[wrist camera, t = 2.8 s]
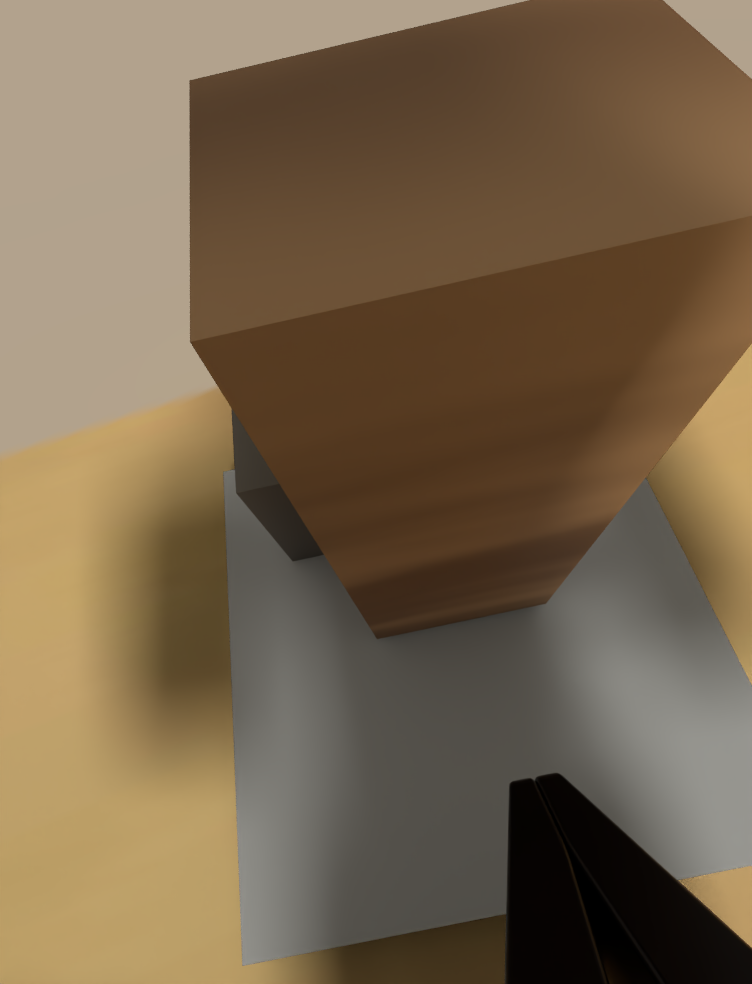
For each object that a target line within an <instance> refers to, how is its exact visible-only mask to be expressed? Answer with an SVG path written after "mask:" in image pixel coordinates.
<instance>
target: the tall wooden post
mask: <svg viewBox="0 0 752 984" xmlns="http://www.w3.org/2000/svg"><path fill="white" fill-rule="evenodd" d="M190 342H191V344H192V346H193V347H194V349H195V350H196V352H197V354H198V355H199V357H200V358H201V360H202V362H203V363H204V365H205V366H206V368H207V370H208V371H209V373H210V374H211V376H212V378H213V379H214V381H215V382H216V384H217V385H218V387H219V389H220V390H221V392H222V393H223V395H224V397H225V398H226V400H227V401H228V403H229V405H230V406H231V408H232V409H233V411H234V412H235V414H236V416H237V417H238V419H239V420H240V422H241V424H242V425H243V427H244V428H245V430H246V432H247V433H248V435H249V436H250V438H251V440H252V441H253V443H254V444H255V446H256V447H257V449H258V451H259V452H260V454H261V455H262V457H263V459H264V460H265V462H266V463H267V465H268V467H269V468H270V470H271V471H272V473H273V474H274V476H275V478H276V479H277V481H278V482H279V484H280V486H281V487H282V489H283V490H284V492H285V494H286V495H287V497H288V498H289V500H290V501H291V503H292V505H293V506H294V508H295V509H296V511H297V513H298V514H299V516H300V517H301V519H302V521H303V522H304V524H305V525H306V527H307V529H308V530H309V532H310V533H311V535H312V536H313V538H314V540H315V541H316V543H317V544H318V546H319V548H320V549H321V551H322V552H323V554H324V556H325V557H326V559H327V560H328V562H329V563H330V565H331V567H332V568H333V570H334V571H335V573H336V575H337V576H338V578H339V579H340V581H341V583H342V584H343V586H344V587H345V589H346V591H347V592H348V594H349V595H350V597H351V598H352V600H353V602H354V603H355V605H356V606H357V608H358V610H359V611H360V613H361V614H362V616H363V618H364V619H365V621H366V622H367V624H368V625H369V627H370V629H371V630H372V632H373V633H374V635H375V637H376V638H377V639H380V638H385V637H390V636H395V635H399V634H404V633H409V632H414V631H419V630H423V629H428V628H433V627H438V626H442V625H447V624H452V623H457V622H461V621H466V620H471V619H476V618H480V617H485V616H490V615H495V614H499V613H504V612H509V611H514V610H518V609H523V608H528V607H533V606H537V605H542V604H546V603H547V602H548V601H549V599H550V598H551V597H552V595H553V594H554V593H555V592H556V590H557V589H558V588H559V587H560V585H561V584H562V583H563V582H564V580H565V579H566V578H567V576H568V575H569V574H570V573H571V571H572V570H573V569H574V568H575V566H576V565H577V564H578V563H579V561H580V560H581V559H582V558H583V556H584V555H585V554H586V552H587V551H588V550H589V549H590V547H591V546H592V545H593V544H594V542H595V541H596V540H597V539H598V537H599V536H600V535H601V533H602V532H603V531H604V530H605V528H606V527H607V526H608V525H609V523H610V522H611V521H612V520H613V518H614V517H615V516H616V514H617V513H618V512H619V511H620V509H621V508H622V507H623V506H624V504H625V503H626V502H627V501H628V499H629V498H630V497H631V496H632V494H633V493H634V492H635V490H636V489H637V488H638V487H639V485H640V484H641V483H642V482H643V480H644V479H645V478H646V477H647V475H648V474H649V473H650V471H651V470H652V469H653V468H654V466H655V465H656V464H657V463H658V461H659V460H660V459H661V458H662V456H663V455H664V454H665V452H666V451H667V450H668V449H669V447H670V446H671V445H672V444H673V442H674V441H675V440H676V439H677V437H678V436H679V435H680V434H681V432H682V431H683V430H684V428H685V427H686V426H687V425H688V423H689V422H690V421H691V420H692V418H693V417H694V416H695V415H696V413H697V412H698V411H699V409H700V408H701V407H702V406H703V404H704V403H705V402H706V401H707V399H708V398H709V397H710V396H711V394H712V393H713V392H714V390H715V389H716V388H717V387H718V385H719V384H720V383H721V382H722V380H723V379H724V378H725V377H726V375H727V374H728V373H729V372H730V370H731V369H732V368H733V366H734V365H735V364H736V363H737V361H738V360H739V359H740V358H741V356H742V355H743V354H744V353H745V351H746V350H747V349H748V347H749V346H750V345H751V344H752V79H751V78H750V77H749V76H747V75H746V74H745V73H744V72H743V71H742V70H741V69H740V68H738V67H737V66H736V65H735V64H734V63H733V62H732V61H731V60H729V59H728V58H727V57H726V56H725V55H724V54H723V53H722V52H720V51H719V50H718V49H717V48H716V47H715V46H713V44H711V43H710V42H709V41H708V40H707V39H706V38H705V37H704V36H702V35H701V34H700V33H699V32H698V31H697V30H696V29H694V28H693V27H692V26H691V25H690V24H689V23H688V22H686V21H685V20H684V19H683V18H682V17H681V16H680V15H679V14H677V13H676V12H675V11H674V10H673V9H672V8H671V7H670V6H669V5H667V4H666V3H665V2H664V1H663V0H529V1H524V2H520V3H516V4H512V5H507V6H504V7H499V8H495V9H490V10H486V11H482V12H478V13H474V14H469V15H465V16H461V17H457V18H452V19H449V20H444V21H440V22H436V23H431V24H427V25H423V26H418V27H414V28H410V29H406V30H402V31H397V32H393V33H389V34H385V35H380V36H376V37H372V38H368V39H364V40H359V41H355V42H351V43H346V44H342V45H338V46H334V47H330V48H325V49H321V50H317V51H313V52H308V53H304V54H300V55H296V56H291V57H287V58H283V59H279V60H275V61H271V62H266V63H262V64H258V65H254V66H249V67H245V68H240V69H236V70H232V71H228V72H224V73H219V74H215V75H211V76H207V77H202V78H198V79H194V80H190Z"/></svg>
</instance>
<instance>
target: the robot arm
mask: <svg viewBox="0 0 752 984" xmlns="http://www.w3.org/2000/svg"><path fill="white" fill-rule="evenodd" d="M505 984H752V948H751V947H750V946H749V945H748V944H747V943H746V942H745V941H744V940H742V939H741V938H740V937H739V936H738V935H737V934H736V933H735V932H734V931H733V930H731V929H730V928H729V927H728V926H727V925H726V924H725V923H724V922H723V921H722V920H721V919H719V918H718V917H717V916H716V915H715V914H714V913H713V912H712V911H711V910H710V909H708V908H707V907H706V906H705V905H704V904H703V903H702V902H701V901H700V900H699V899H698V898H696V897H695V896H694V895H693V894H692V893H691V892H690V891H689V890H688V889H687V888H685V887H684V886H683V885H682V884H681V883H680V882H679V881H678V880H677V879H676V878H674V877H673V876H672V875H671V874H670V873H669V872H668V871H667V870H666V869H665V868H664V867H662V866H661V865H660V864H659V863H658V862H657V861H656V860H655V859H654V858H653V857H651V856H650V855H649V854H648V853H647V852H646V851H645V850H644V849H643V848H642V847H641V846H639V845H638V844H637V843H636V842H635V841H634V840H633V839H632V838H631V837H630V836H628V835H627V834H626V833H625V832H624V831H623V830H622V829H621V828H620V827H619V826H618V825H616V824H615V823H614V822H613V821H612V820H611V819H610V818H609V817H608V816H607V815H605V814H604V813H603V812H602V811H601V810H600V809H599V808H598V807H597V806H596V805H594V804H593V803H592V802H591V801H590V800H589V799H588V798H587V797H586V796H585V795H584V794H582V793H581V792H580V791H579V790H578V789H577V788H576V787H575V786H574V785H573V784H571V783H570V782H569V781H568V780H567V779H566V778H565V777H564V776H563V775H561V774H560V773H550V774H545V775H540V776H537V777H536V778H535V780H534V779H532V778H525V779H520V780H515V781H512V782H510V784H509V807H508V852H507V897H506V942H505Z"/></svg>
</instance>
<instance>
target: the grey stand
mask: <svg viewBox="0 0 752 984" xmlns="http://www.w3.org/2000/svg"><path fill="white" fill-rule="evenodd" d="M232 425H233V445H234V464H235V469H234V470H230V471H225V472H223V476H224V502H225V527H226V553H227V579H228V605H229V630H230V656H231V682H232V708H233V733H234V759H235V785H236V810H237V836H238V862H239V888H240V913H241V939H242V965H243V966H244V965H249V964H255V963H260V962H265V961H270V960H275V959H280V958H285V957H290V956H295V955H300V954H305V953H310V952H315V951H320V950H326V949H331V948H336V947H341V946H346V945H351V944H356V943H361V942H366V941H371V940H376V939H381V938H386V937H391V936H397V935H402V934H407V933H412V932H417V931H422V930H427V929H432V928H437V927H442V926H447V925H452V924H457V923H462V922H468V921H473V920H478V919H483V918H488V917H493V916H498V915H503V914H506V897H507V852H508V807H509V784H510V782H512V781H515V780H520V779H525V778H532V779H534V780H535V778H536V777H537V776H540V775H545V774H550V773H560V774H561V775H563V776H564V777H565V778H566V779H567V780H568V781H569V782H570V783H571V784H573V785H574V786H575V787H576V788H577V789H578V790H579V791H580V792H581V793H582V794H584V795H585V796H586V797H587V798H588V799H589V800H590V801H591V802H592V803H593V804H594V805H596V806H597V807H598V808H599V809H600V810H601V811H602V812H603V813H604V814H605V815H607V816H608V817H609V818H610V819H611V820H612V821H613V822H614V823H615V824H616V825H618V826H619V827H620V828H621V829H622V830H623V831H624V832H625V833H626V834H627V835H628V836H630V837H631V838H632V839H633V840H634V841H635V842H636V843H637V844H638V845H639V846H641V847H642V848H643V849H644V850H645V851H646V852H647V853H648V854H649V855H650V856H651V857H653V858H654V859H655V860H656V861H657V862H658V863H659V864H660V865H661V866H662V867H664V868H665V869H666V870H667V871H668V872H669V873H670V874H671V875H672V876H673V877H674V878H676V879H677V880H681V879H686V878H691V877H696V876H701V875H706V874H711V873H716V872H721V871H726V870H731V869H736V868H741V867H746V866H752V685H751V683H750V681H749V679H748V677H747V675H746V673H745V671H744V669H743V667H742V665H741V663H740V662H739V660H738V658H737V656H736V654H735V652H734V650H733V648H732V646H731V644H730V642H729V640H728V638H727V636H726V634H725V632H724V630H723V628H722V626H721V624H720V622H719V620H718V618H717V616H716V614H715V612H714V610H713V608H712V607H711V605H710V603H709V601H708V599H707V597H706V595H705V593H704V591H703V589H702V587H701V585H700V583H699V581H698V579H697V577H696V575H695V573H694V571H693V569H692V567H691V565H690V563H689V561H688V559H687V557H686V555H685V553H684V551H683V550H682V548H681V546H680V544H679V542H678V540H677V538H676V536H675V534H674V532H673V530H672V528H671V526H670V524H669V522H668V520H667V518H666V516H665V514H664V512H663V510H662V508H661V506H660V504H659V502H658V500H657V498H656V496H655V495H654V493H653V491H652V489H651V487H650V485H649V483H648V481H647V479H646V478H645V479H644V480H643V482H642V483H641V484H640V485H639V487H638V488H637V489H636V490H635V492H634V493H633V494H632V496H631V497H630V498H629V499H628V501H627V502H626V503H625V504H624V506H623V507H622V508H621V509H620V511H619V512H618V513H617V514H616V516H615V517H614V518H613V520H612V521H611V522H610V523H609V525H608V526H607V527H606V528H605V530H604V531H603V532H602V533H601V535H600V536H599V537H598V539H597V540H596V541H595V542H594V544H593V545H592V546H591V547H590V549H589V550H588V551H587V552H586V554H585V555H584V556H583V558H582V559H581V560H580V561H579V563H578V564H577V565H576V566H575V568H574V569H573V570H572V571H571V573H570V574H569V575H568V576H567V578H566V579H565V580H564V582H563V583H562V584H561V585H560V587H559V588H558V589H557V590H556V592H555V593H554V594H553V595H552V597H551V598H550V599H549V601H548V602H547V603H546V604H542V605H537V606H533V607H528V608H523V609H518V610H514V611H509V612H504V613H499V614H495V615H490V616H485V617H480V618H476V619H471V620H466V621H461V622H457V623H452V624H447V625H442V626H438V627H433V628H428V629H423V630H419V631H414V632H409V633H404V634H399V635H395V636H390V637H385V638H380V639H377V638H376V637H375V635H374V633H373V632H372V630H371V629H370V627H369V625H368V624H367V622H366V621H365V619H364V618H363V616H362V614H361V613H360V611H359V610H358V608H357V606H356V605H355V603H354V602H353V600H352V598H351V597H350V595H349V594H348V592H347V591H346V589H345V587H344V586H343V584H342V583H341V581H340V579H339V578H338V576H337V575H336V573H335V571H334V570H333V568H332V567H331V565H330V563H329V562H328V560H327V559H326V557H325V556H324V554H323V552H322V551H321V549H320V548H319V546H318V544H317V543H316V541H315V540H314V538H313V536H312V535H311V533H310V532H309V530H308V529H307V527H306V525H305V524H304V522H303V521H302V519H301V517H300V516H299V514H298V513H297V511H296V509H295V508H294V506H293V505H292V503H291V501H290V500H289V498H288V497H287V495H286V494H285V492H284V490H283V489H282V487H281V486H280V484H279V482H278V481H277V479H276V478H275V476H274V474H273V473H272V471H271V470H270V468H269V467H268V465H267V463H266V462H265V460H264V459H263V457H262V455H261V454H260V452H259V451H258V449H257V447H256V446H255V444H254V443H253V441H252V440H251V438H250V436H249V435H248V433H247V432H246V430H245V428H244V427H243V425H242V424H241V422H240V420H239V419H238V417H237V416H236V414H235V412H234V411H233V409H232Z"/></svg>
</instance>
